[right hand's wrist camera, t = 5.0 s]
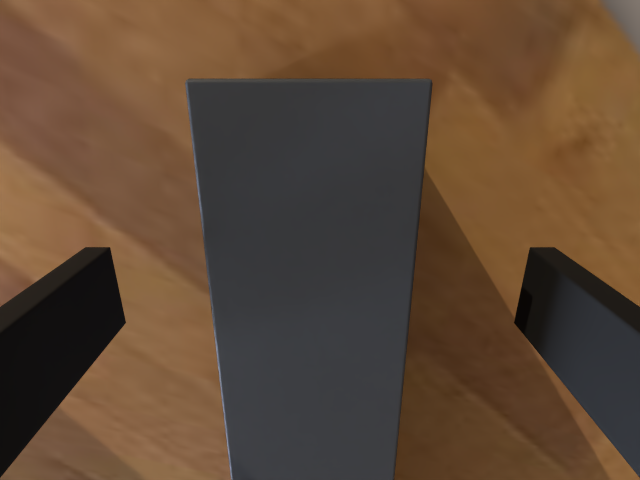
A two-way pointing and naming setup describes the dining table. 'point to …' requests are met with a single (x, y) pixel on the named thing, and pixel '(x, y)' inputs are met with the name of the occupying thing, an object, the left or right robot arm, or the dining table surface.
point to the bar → (310, 265)
